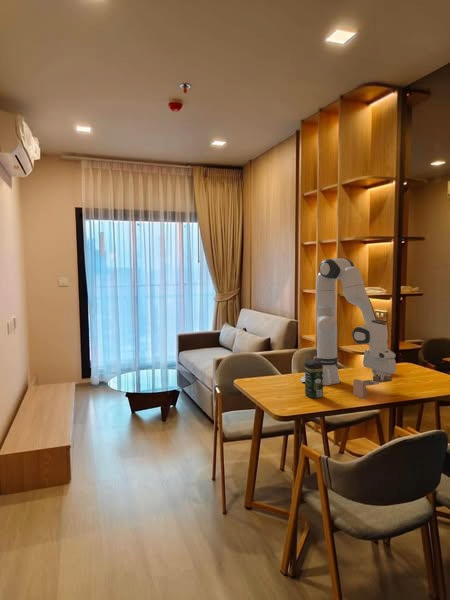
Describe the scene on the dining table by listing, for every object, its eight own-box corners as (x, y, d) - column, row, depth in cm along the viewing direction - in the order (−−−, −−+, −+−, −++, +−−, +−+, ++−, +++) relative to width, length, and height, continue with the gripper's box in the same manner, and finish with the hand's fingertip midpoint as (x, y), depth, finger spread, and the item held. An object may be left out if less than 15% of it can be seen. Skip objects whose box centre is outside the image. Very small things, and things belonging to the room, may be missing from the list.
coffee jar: (302, 394, 212) (302, 359, 211) (316, 392, 214) (315, 357, 213) (311, 399, 202) (310, 362, 201) (325, 397, 204) (325, 361, 203)
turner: (386, 379, 215) (386, 373, 215) (394, 381, 209) (394, 376, 209) (359, 382, 209) (359, 377, 209) (367, 385, 203) (367, 379, 203)
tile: (356, 394, 209) (356, 379, 208) (365, 398, 202) (365, 382, 202) (353, 394, 208) (353, 379, 208) (362, 398, 202) (362, 382, 201)
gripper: (360, 349, 217) (360, 375, 218) (387, 356, 198) (388, 384, 199) (369, 348, 219) (369, 373, 220) (398, 354, 200) (398, 382, 201)
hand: (378, 378), depth 209 cm, fingers closed on turner, 3 cm apart
